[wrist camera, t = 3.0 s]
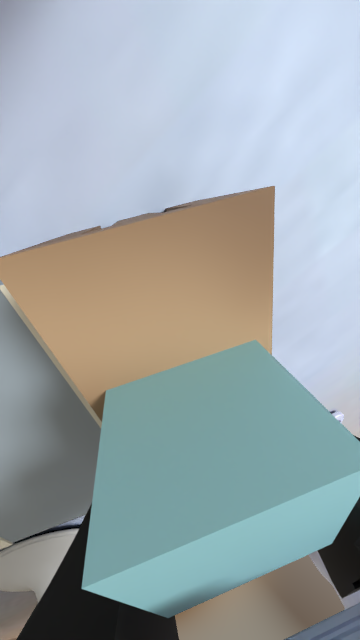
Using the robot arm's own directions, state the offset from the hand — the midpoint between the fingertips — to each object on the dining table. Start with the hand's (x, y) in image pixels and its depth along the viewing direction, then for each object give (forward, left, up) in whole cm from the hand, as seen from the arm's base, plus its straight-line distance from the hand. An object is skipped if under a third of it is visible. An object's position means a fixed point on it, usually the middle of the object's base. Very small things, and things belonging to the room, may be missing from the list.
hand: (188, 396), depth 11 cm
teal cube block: (+4, 0, +4) cm, 5 cm away
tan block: (+2, 0, -1) cm, 2 cm away
